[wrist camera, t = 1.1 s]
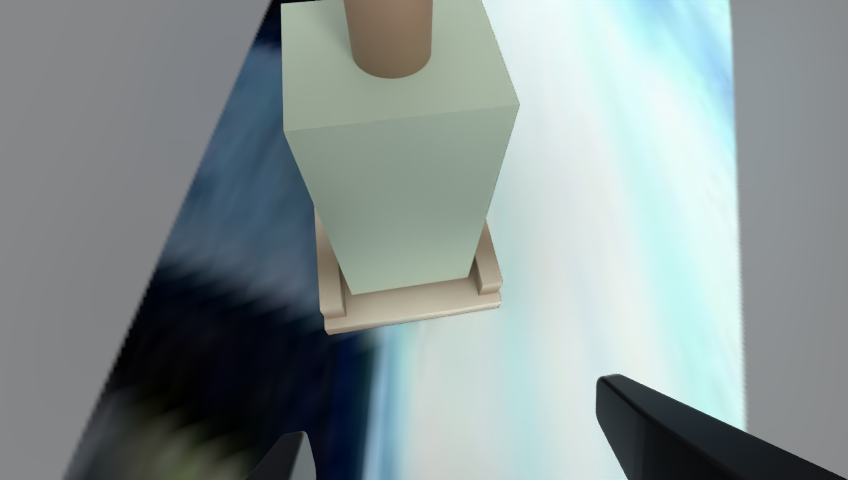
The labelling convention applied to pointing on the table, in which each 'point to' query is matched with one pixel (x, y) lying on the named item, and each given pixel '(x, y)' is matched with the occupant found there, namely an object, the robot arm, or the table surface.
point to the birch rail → (404, 292)
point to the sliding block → (397, 131)
